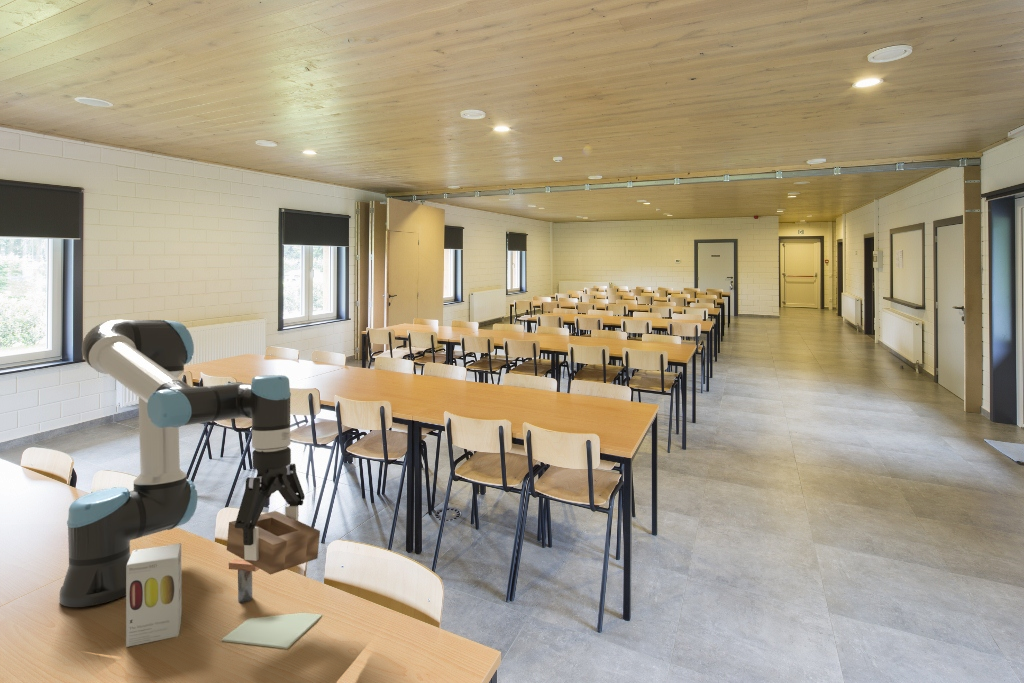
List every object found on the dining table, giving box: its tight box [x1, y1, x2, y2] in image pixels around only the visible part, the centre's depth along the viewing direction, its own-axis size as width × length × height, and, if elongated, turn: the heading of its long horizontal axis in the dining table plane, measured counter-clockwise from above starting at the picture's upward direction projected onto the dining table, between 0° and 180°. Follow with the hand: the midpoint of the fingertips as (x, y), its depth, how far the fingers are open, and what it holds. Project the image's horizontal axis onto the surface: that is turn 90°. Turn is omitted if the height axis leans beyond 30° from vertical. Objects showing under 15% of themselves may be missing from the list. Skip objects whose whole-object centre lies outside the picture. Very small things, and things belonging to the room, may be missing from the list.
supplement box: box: [125, 542, 183, 648], centre depth 118 cm, size 10×9×17 cm
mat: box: [221, 612, 323, 650], centre depth 119 cm, size 15×13×1 cm
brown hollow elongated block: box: [226, 510, 321, 575], centre depth 119 cm, size 11×16×6 cm
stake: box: [228, 558, 261, 604], centre depth 129 cm, size 7×4×10 cm, turn 78°
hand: (273, 547), depth 119 cm, fingers closed on brown hollow elongated block, 13 cm apart
